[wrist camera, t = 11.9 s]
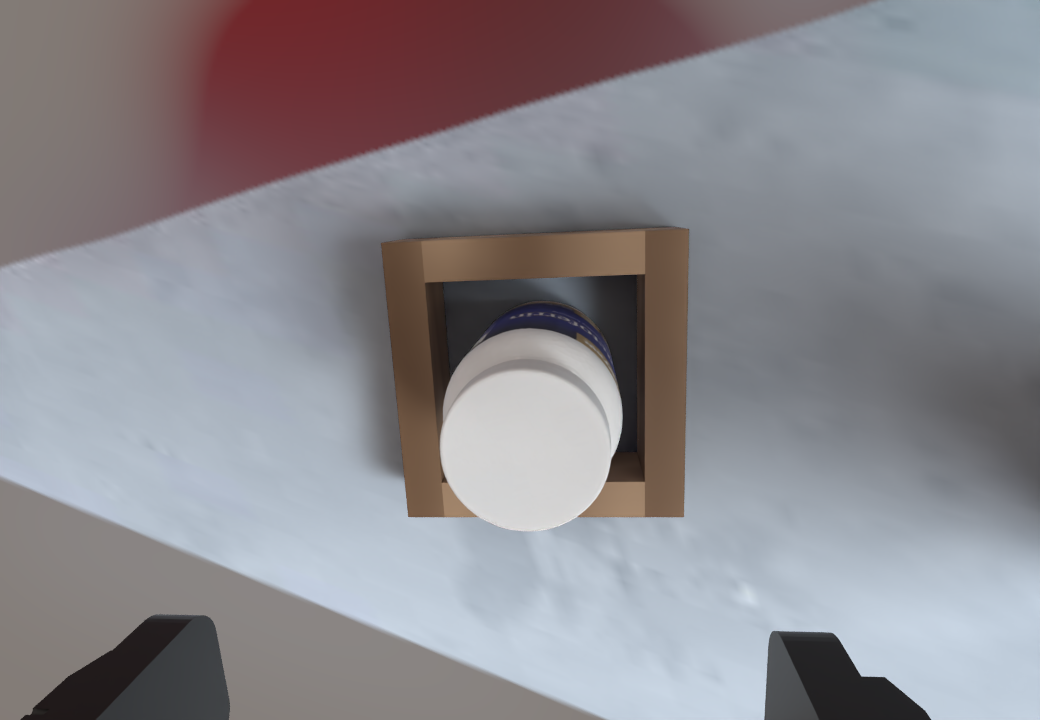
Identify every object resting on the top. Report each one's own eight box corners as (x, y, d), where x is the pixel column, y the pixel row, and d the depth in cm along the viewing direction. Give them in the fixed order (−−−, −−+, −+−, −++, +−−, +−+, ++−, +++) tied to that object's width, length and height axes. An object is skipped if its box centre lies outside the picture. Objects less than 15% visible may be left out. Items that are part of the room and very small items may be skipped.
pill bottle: (634, 332, 25) (671, 407, 15) (576, 448, 27) (577, 583, 17) (508, 275, 25) (465, 315, 15) (457, 395, 26) (388, 501, 17)
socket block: (675, 226, 24) (688, 229, 21) (672, 483, 26) (683, 517, 24) (403, 239, 25) (381, 243, 22) (425, 485, 28) (408, 516, 25)
